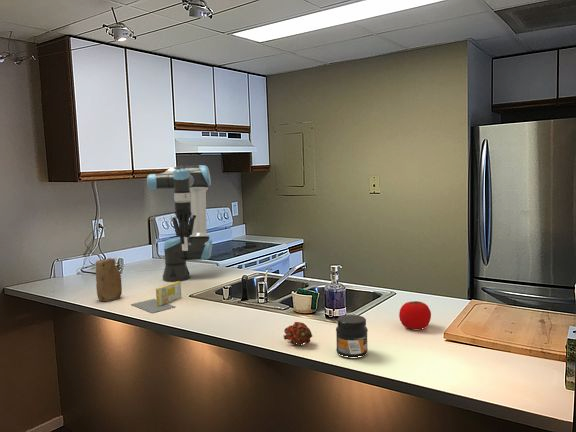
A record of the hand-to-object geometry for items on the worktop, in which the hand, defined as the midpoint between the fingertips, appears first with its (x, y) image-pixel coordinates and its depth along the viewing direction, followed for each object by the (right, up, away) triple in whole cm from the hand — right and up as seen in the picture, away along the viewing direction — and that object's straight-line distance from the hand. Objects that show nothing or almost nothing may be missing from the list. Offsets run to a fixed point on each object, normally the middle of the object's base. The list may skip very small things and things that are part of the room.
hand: (185, 250), depth 237 cm
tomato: (+99, -27, -49) cm, 113 cm away
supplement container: (+71, -30, -72) cm, 106 cm away
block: (-37, -25, +4) cm, 45 cm away
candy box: (-7, -24, -4) cm, 25 cm away
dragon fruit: (+53, -29, -62) cm, 86 cm away
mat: (-13, -25, -10) cm, 30 cm away
